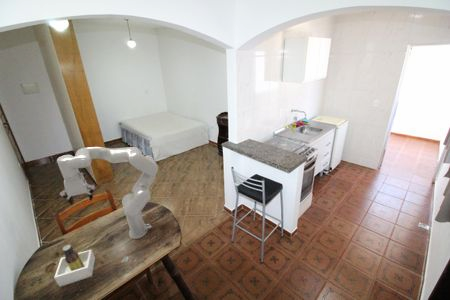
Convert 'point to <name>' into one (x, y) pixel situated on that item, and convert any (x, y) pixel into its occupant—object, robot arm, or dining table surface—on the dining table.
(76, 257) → the sauce bottle
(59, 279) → the storage box
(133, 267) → the dining table surface
